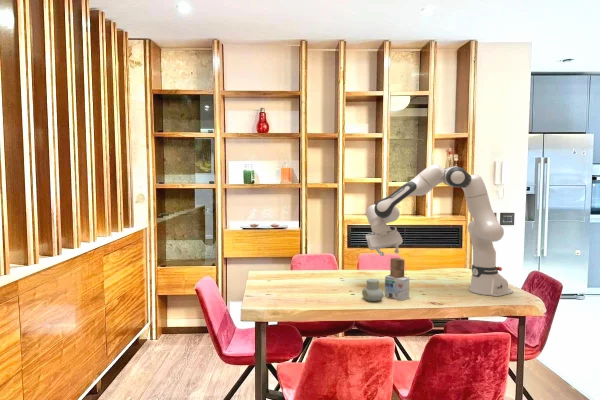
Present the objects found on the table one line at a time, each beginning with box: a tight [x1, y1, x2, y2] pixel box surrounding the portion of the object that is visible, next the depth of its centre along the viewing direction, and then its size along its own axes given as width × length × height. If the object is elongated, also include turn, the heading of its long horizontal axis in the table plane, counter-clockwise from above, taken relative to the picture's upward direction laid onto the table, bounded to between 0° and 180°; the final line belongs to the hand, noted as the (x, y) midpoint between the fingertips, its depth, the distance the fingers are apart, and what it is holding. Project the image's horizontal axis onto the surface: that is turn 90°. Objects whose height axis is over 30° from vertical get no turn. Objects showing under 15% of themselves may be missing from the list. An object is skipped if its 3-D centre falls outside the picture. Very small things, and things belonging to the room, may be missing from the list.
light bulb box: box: [384, 274, 410, 301], centre depth 192 cm, size 11×7×11 cm, turn 47°
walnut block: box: [389, 257, 405, 278], centre depth 191 cm, size 5×5×9 cm
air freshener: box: [361, 278, 385, 302], centre depth 187 cm, size 11×8×10 cm
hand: (389, 254), depth 204 cm, fingers open, 8 cm apart
